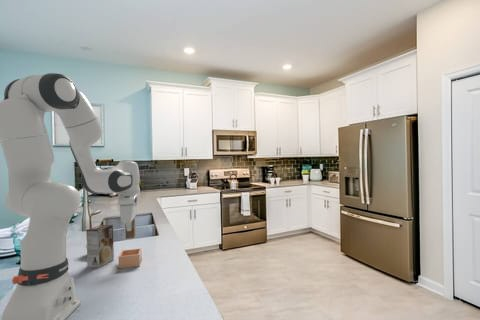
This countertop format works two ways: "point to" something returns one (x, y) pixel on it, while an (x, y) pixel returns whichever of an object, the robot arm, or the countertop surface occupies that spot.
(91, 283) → the countertop surface
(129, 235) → the tan plain wooden block
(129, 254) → the peach cubby shelf
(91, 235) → the coffee box
